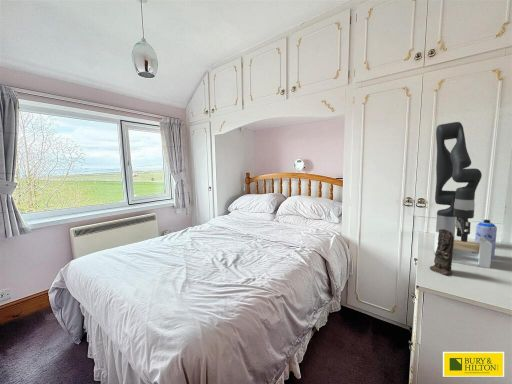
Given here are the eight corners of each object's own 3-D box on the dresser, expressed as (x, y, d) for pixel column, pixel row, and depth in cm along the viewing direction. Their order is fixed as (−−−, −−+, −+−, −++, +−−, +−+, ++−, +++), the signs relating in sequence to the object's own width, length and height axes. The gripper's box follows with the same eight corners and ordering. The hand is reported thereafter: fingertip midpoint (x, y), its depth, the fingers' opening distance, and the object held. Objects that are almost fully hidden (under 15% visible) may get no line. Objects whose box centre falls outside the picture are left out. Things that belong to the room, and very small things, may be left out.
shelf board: (442, 244, 119) (442, 237, 118) (478, 249, 110) (478, 242, 110) (442, 247, 114) (443, 240, 114) (480, 252, 106) (481, 245, 106)
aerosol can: (499, 259, 112) (502, 221, 110) (481, 258, 113) (484, 221, 111) (486, 254, 119) (489, 218, 117) (469, 253, 121) (472, 218, 119)
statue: (429, 269, 103) (431, 228, 101) (438, 266, 105) (441, 226, 103) (445, 276, 96) (449, 232, 94) (455, 273, 99) (458, 230, 97)
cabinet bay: (433, 252, 123) (435, 231, 122) (481, 259, 113) (483, 236, 112) (437, 260, 113) (439, 237, 112) (489, 268, 103) (492, 243, 102)
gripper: (450, 205, 118) (448, 234, 120) (457, 210, 106) (455, 242, 108) (469, 206, 114) (467, 236, 116) (479, 211, 102) (476, 244, 104)
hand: (461, 238), depth 112 cm, fingers open, 8 cm apart
